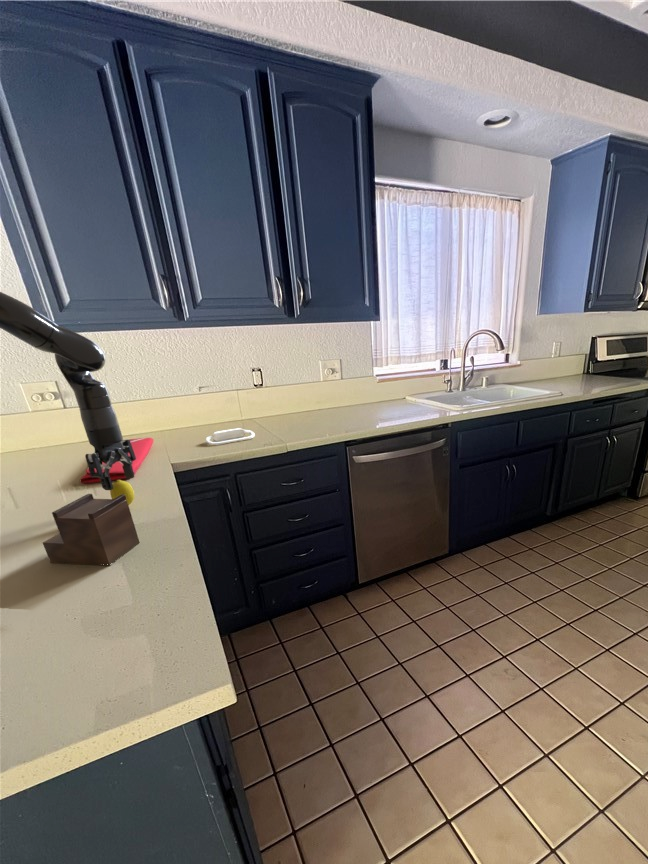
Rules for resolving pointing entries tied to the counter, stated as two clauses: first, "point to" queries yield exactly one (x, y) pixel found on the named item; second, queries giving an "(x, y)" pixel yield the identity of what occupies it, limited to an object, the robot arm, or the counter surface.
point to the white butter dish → (229, 436)
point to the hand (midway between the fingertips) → (120, 483)
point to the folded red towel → (117, 472)
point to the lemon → (122, 491)
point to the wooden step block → (92, 531)
